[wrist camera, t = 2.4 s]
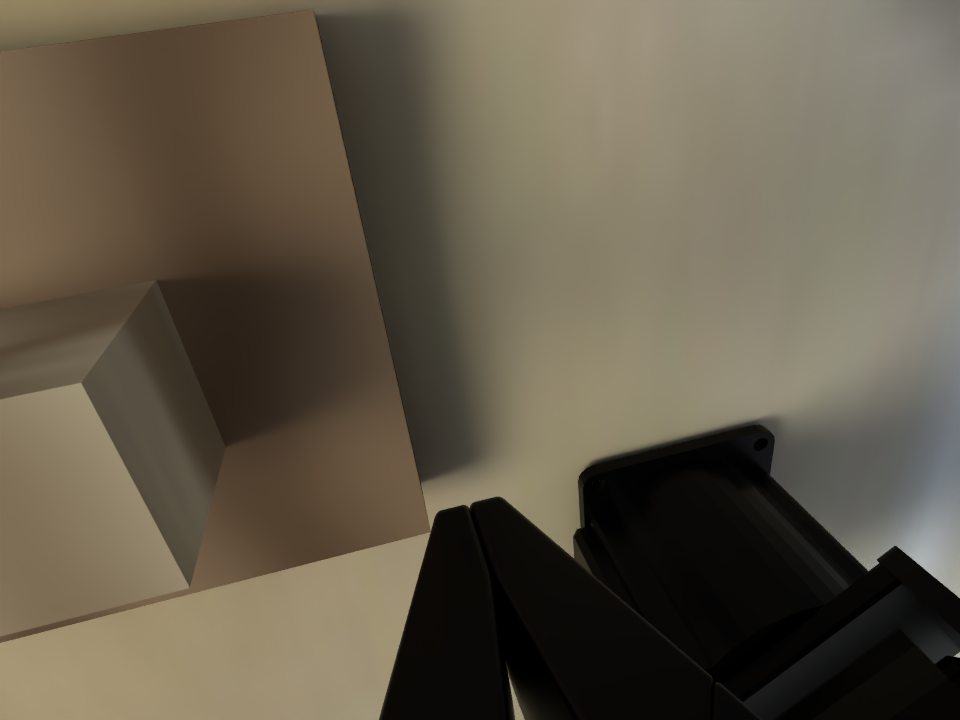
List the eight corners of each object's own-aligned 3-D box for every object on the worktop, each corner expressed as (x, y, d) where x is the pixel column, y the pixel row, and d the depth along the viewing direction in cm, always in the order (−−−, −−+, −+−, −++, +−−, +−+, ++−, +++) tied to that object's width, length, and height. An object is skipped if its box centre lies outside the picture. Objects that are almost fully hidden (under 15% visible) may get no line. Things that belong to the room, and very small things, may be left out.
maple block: (156, 279, 11) (81, 382, 8) (225, 447, 13) (190, 588, 10) (-74, 323, 11) (-264, 453, 7) (33, 490, 13) (-76, 655, 9)
